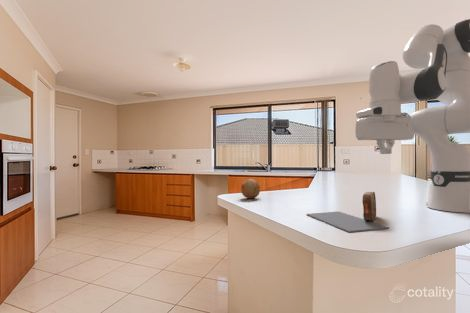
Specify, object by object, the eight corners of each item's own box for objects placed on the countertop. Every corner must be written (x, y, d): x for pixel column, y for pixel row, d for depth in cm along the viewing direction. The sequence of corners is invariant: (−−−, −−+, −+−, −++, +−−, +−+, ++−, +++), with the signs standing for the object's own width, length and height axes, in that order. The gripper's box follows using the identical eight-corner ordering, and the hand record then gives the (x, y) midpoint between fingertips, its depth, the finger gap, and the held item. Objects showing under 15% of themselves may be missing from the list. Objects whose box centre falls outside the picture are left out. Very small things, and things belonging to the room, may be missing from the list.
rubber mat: (338, 212, 91) (338, 211, 91) (388, 228, 70) (388, 227, 70) (306, 215, 88) (306, 213, 88) (348, 232, 67) (348, 231, 67)
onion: (250, 200, 120) (249, 180, 121) (237, 198, 128) (236, 179, 128) (264, 198, 127) (264, 178, 127) (251, 196, 134) (250, 177, 134)
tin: (372, 223, 73) (373, 195, 73) (360, 222, 75) (361, 194, 75) (376, 215, 86) (377, 191, 86) (366, 214, 88) (366, 190, 88)
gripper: (402, 114, 88) (403, 153, 88) (351, 112, 83) (352, 154, 83) (419, 110, 82) (420, 153, 82) (366, 109, 77) (367, 154, 77)
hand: (385, 153), depth 82 cm, fingers closed
